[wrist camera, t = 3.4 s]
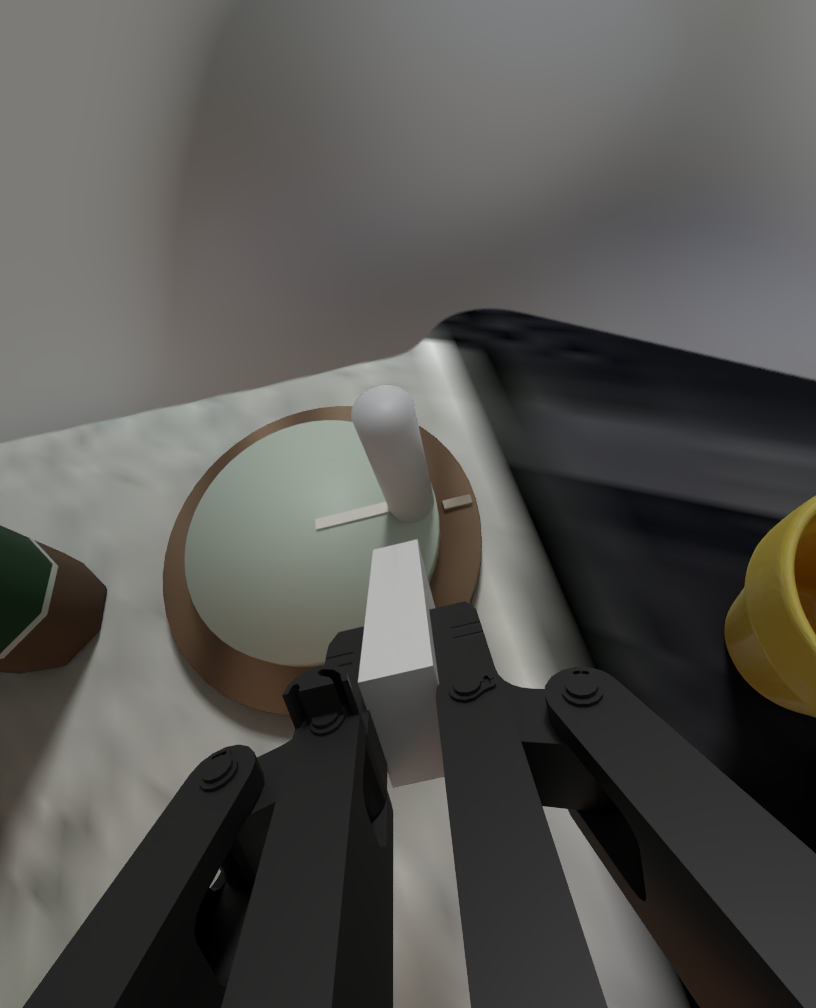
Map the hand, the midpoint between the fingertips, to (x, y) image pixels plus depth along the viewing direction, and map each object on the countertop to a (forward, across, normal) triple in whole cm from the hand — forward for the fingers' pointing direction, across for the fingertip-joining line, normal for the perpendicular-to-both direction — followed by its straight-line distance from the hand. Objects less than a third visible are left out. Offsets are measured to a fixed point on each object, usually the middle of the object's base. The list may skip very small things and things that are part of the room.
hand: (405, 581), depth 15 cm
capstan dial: (+14, -6, -2) cm, 16 cm away
